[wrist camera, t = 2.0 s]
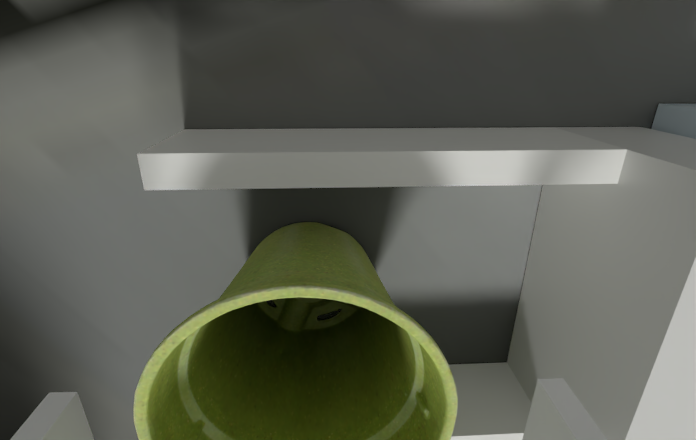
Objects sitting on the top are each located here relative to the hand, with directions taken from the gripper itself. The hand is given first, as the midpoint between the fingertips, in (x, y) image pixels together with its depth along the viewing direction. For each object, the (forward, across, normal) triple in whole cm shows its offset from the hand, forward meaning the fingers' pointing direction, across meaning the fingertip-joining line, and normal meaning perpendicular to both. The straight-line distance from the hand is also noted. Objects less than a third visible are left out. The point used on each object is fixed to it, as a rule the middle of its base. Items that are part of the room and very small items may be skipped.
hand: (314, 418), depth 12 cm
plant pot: (+9, +1, 0) cm, 9 cm away
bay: (+9, -4, 0) cm, 10 cm away
